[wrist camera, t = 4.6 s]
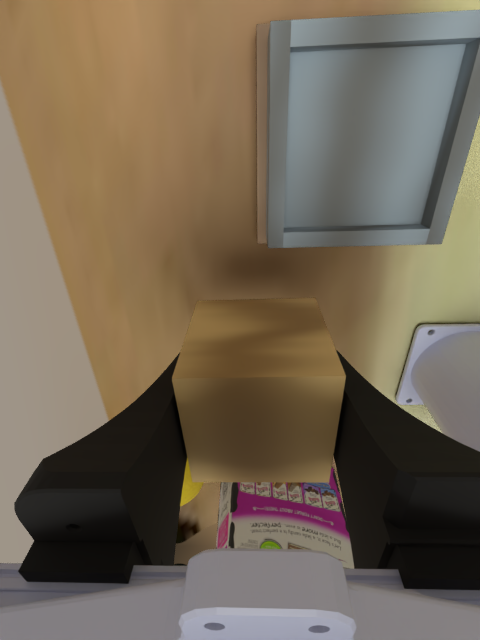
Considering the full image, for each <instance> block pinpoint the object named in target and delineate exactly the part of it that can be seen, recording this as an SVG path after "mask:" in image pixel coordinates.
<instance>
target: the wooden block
mask: <svg viewBox="0 0 480 640" xmlns="http://www.w3.org/2000/svg"><path fill="white" fill-rule="evenodd" d="M345 380H346V375H345V372H344V370H343V367H342V364H341V362H340V359H339V357H338V354H337V352H336V349H335V347H334V344H333V342H332V339H331V337H330V334H329V331H328V329H327V326H326V324H325V321H324V319H323V316H322V314H321V311H320V309H319V306H318V304H317V301H316V298H286V299H249V300H211V301H197V303H196V306H195V309H194V312H193V315H192V318H191V321H190V324H189V327H188V331H187V334H186V337H185V340H184V343H183V346H182V349H181V352H180V355H179V358H178V361H177V364H176V367H175V370H174V373H173V376H172V382H173V387H174V392H175V397H176V402H177V407H178V412H179V417H180V422H181V427H182V432H183V437H184V442H185V447H186V452H187V457H188V462H189V467H190V472H191V477H192V482H315V483H329V479H330V473H331V467H332V461H333V454H334V448H335V442H336V436H337V430H338V423H339V417H340V411H341V405H342V399H343V392H344V386H345Z"/></svg>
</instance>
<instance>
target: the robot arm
mask: <svg viewBox="0 0 480 640" xmlns="http://www.w3.org/2000/svg"><path fill="white" fill-rule="evenodd" d="M429 330H432V331H431V332H428V331H429ZM336 352H337V354H338V357H339V359H340V362H341V364H342V367H343V370H344V372H345V375H346V380H345V386H344V392H343V399H342V405H341V411H340V417H339V423H338V430H337V436H336V442H335V448H334V454H333V455H334V459H335V463H336V467H337V472H338V477H339V482H340V487H341V492H342V498H343V503H344V509H345V514H346V520H347V526H348V531H349V537H350V543H351V549H352V556H353V562H354V569H344V568H343V565H342V562H341V561H340V560H338V559H337V558H335V557H334V556H332V555H330V554H328V553H326V552H322V551H315V550H308V549H240V548H220V549H212V550H204V551H202V552H201V553H199V554H197V555H195V556H193V557H192V558H191V559H190V560H189V562H188V566H173V565H174V555H175V545H176V536H177V528H178V519H179V511H180V503H181V496H182V488H183V481H184V474H185V468H186V462H187V452H186V447H185V442H184V437H183V432H182V427H181V422H180V417H179V412H178V407H177V402H176V397H175V392H174V387H173V382H172V376H173V373H174V370H175V367H176V364H177V361H178V358H179V355H180V353H179V354H178V356H177V357H176V358H175V359H174V360H173V362H172V363H171V364H170V365H169V366H168V368H167V369H166V370H165V371H164V372H163V373H162V374H161V375H160V377H159V378H158V379H157V380H156V381H155V382H154V383H153V384H152V385H151V386H150V387H149V388H148V389H147V390H146V391H145V392H144V393H143V394H142V395H141V396H140V397H139V398H138V399H137V400H136V401H134V402H133V403H132V404H131V405H130V406H128V407H127V408H126V409H125V410H123V411H122V412H121V413H119V414H118V415H117V416H115V417H114V418H113V419H111V420H110V421H108V422H107V423H106V424H104V425H103V426H101V427H100V428H98V429H97V430H95V431H93V432H92V433H90V434H89V435H87V436H85V437H84V438H82V439H80V440H79V441H77V442H75V443H73V444H72V445H70V446H68V447H66V448H64V449H62V450H60V451H58V452H56V453H54V454H52V455H50V456H48V457H46V458H44V459H43V460H42V461H41V463H40V464H39V466H38V467H37V469H36V470H35V471H34V473H33V474H32V476H31V478H30V479H29V481H28V483H27V484H26V485H25V487H24V489H23V490H22V492H21V493H20V495H19V497H18V498H17V500H16V502H15V512H16V515H17V517H18V518H19V520H20V522H21V523H22V524H23V526H24V527H25V528H26V530H27V531H28V532H29V534H30V535H31V536H32V538H33V539H34V543H33V544H32V547H31V548H30V550H29V552H28V554H27V556H26V557H25V559H24V561H23V563H0V640H480V324H424V325H420V326H418V327H417V329H416V331H415V334H414V337H413V341H412V344H411V348H410V351H409V354H408V358H407V361H406V365H405V368H404V372H403V375H402V378H401V382H400V385H399V389H398V392H397V395H396V401H397V403H398V404H401V405H425V406H426V408H427V409H428V411H429V413H430V414H431V416H432V417H433V419H434V420H435V422H436V423H437V425H438V426H439V428H440V430H441V431H442V433H441V432H439V431H437V430H435V429H434V428H432V427H430V426H428V425H427V424H425V423H423V422H422V421H420V420H419V419H417V418H415V417H414V416H412V415H411V414H409V413H408V412H406V411H405V410H403V409H402V408H400V407H399V406H398V405H396V404H395V403H393V402H392V401H391V400H389V399H388V398H387V397H385V396H384V395H383V394H382V393H380V392H379V391H378V390H377V389H376V388H375V387H373V386H372V385H371V384H370V383H369V382H368V381H367V380H366V379H365V378H363V377H362V376H361V375H360V374H359V373H358V372H357V371H356V370H355V369H354V368H353V367H352V366H351V365H350V364H349V363H348V362H347V360H346V359H345V358H344V357H343V356H342V355H341V354H340V353H339V352H338V351H337V350H336ZM407 399H408V400H407Z"/></svg>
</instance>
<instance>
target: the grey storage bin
mask: <svg viewBox="0 0 480 640" xmlns="http://www.w3.org/2000/svg"><path fill="white" fill-rule="evenodd" d="M479 115H480V10H467V11H449V12H430V13H412V14H393V15H375V16H356V17H338V18H319V19H301V20H282V21H271V22H270V24H257V26H256V123H257V240H258V244H265V243H267V245H268V248H295V247H338V246H381V245H424V244H442V241H443V237H444V234H445V231H446V227H447V224H448V221H449V217H450V214H451V210H452V207H453V204H454V200H455V197H456V193H457V190H458V187H459V183H460V180H461V176H462V173H463V170H464V166H465V163H466V159H467V156H468V153H469V149H470V146H471V142H472V139H473V136H474V132H475V129H476V125H477V122H478V119H479Z"/></svg>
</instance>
